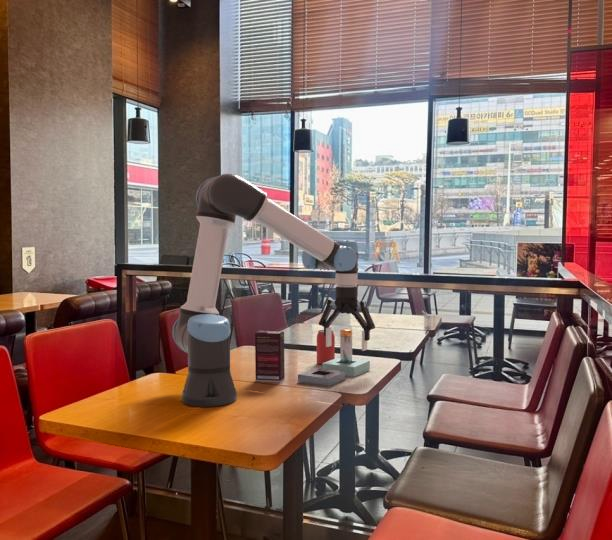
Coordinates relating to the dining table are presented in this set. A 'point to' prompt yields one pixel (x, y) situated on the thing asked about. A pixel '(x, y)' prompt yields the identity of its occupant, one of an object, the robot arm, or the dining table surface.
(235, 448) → the dining table surface
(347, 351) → the pin
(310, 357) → the dining table surface
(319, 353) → the beer can
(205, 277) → the robot arm
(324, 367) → the socket block
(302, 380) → the mount
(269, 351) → the supplement box
